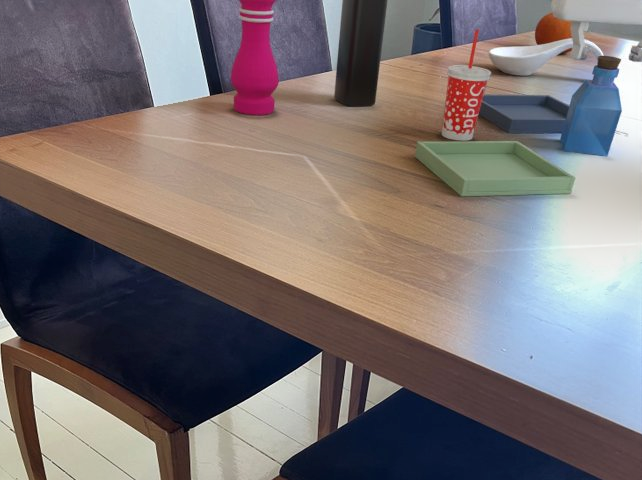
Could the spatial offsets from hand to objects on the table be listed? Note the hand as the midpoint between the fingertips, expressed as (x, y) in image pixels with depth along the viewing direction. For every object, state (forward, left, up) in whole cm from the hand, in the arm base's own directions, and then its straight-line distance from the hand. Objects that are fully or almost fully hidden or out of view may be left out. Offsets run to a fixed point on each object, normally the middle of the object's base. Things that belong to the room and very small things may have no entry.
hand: (606, 60), depth 102 cm
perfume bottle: (0, 0, -12) cm, 12 cm away
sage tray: (+21, +11, -12) cm, 26 cm away
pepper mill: (+46, -20, -12) cm, 51 cm away
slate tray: (+1, -15, -12) cm, 19 cm away
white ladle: (-20, -47, -12) cm, 52 cm away
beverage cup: (+18, -6, -12) cm, 22 cm away
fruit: (-37, -72, -12) cm, 82 cm away
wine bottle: (+28, -25, -12) cm, 39 cm away
